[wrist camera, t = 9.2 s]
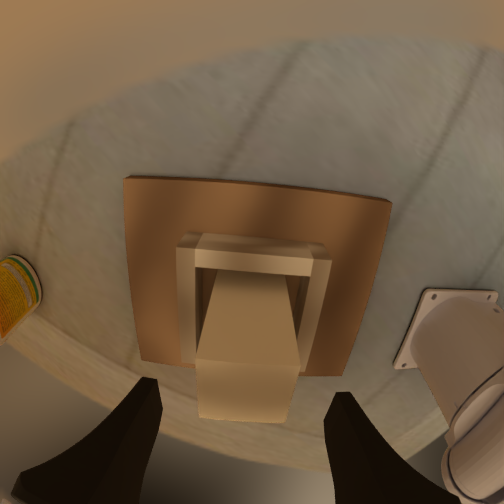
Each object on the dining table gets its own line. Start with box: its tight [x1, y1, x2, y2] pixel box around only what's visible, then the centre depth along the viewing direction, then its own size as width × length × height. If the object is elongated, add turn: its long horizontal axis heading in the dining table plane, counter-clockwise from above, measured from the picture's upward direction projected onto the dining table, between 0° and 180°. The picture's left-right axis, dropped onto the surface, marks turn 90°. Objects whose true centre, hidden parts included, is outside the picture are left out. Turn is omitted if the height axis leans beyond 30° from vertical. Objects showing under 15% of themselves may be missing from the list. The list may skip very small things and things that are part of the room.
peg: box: [195, 269, 301, 423], centre depth 15 cm, size 4×4×8 cm
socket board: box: [123, 176, 392, 376], centre depth 18 cm, size 16×14×4 cm
